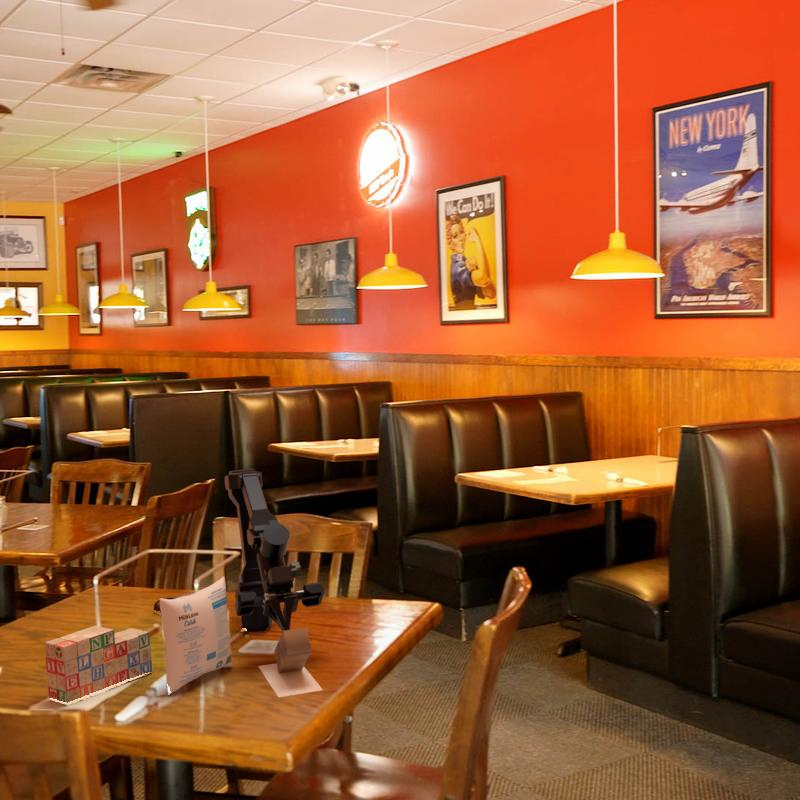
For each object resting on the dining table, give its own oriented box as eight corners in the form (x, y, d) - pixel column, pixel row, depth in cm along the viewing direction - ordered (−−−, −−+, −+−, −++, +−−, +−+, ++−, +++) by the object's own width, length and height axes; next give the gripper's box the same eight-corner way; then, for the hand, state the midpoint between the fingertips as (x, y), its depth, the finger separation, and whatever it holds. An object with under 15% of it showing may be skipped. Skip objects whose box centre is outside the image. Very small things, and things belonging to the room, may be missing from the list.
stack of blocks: (134, 669, 218) (130, 613, 217) (153, 674, 214) (149, 617, 213) (48, 701, 201) (44, 641, 200) (67, 707, 197) (63, 646, 196)
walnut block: (274, 650, 212) (283, 630, 203) (297, 647, 214) (307, 627, 204) (278, 673, 210) (287, 654, 200) (301, 669, 211) (311, 651, 202)
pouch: (246, 670, 214) (241, 578, 212) (177, 699, 198) (171, 600, 197) (219, 664, 218) (214, 574, 217) (151, 692, 203) (145, 595, 202)
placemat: (258, 667, 215) (258, 666, 215) (298, 661, 218) (298, 659, 218) (278, 699, 196) (278, 697, 196) (322, 691, 199) (322, 689, 199)
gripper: (234, 555, 212) (247, 620, 202) (319, 545, 218) (335, 607, 208) (230, 583, 220) (242, 647, 210) (312, 573, 226) (327, 634, 216)
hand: (287, 633), depth 211 cm, fingers closed
